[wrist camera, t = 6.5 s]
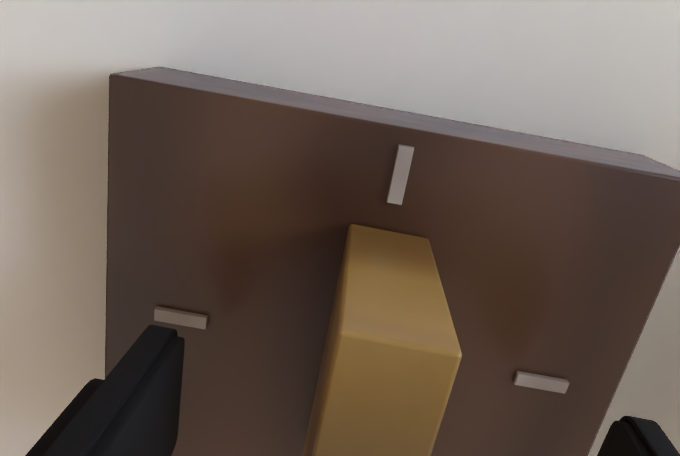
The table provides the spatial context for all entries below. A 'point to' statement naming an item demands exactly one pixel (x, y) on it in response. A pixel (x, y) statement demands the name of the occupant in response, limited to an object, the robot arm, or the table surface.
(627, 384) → the table surface
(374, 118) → the brown rotary knob panel
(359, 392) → the tan wooden brick
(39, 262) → the table surface
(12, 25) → the table surface
